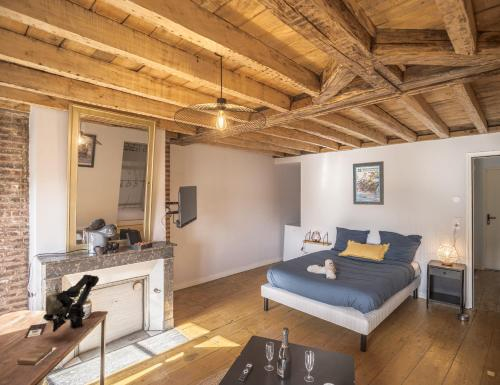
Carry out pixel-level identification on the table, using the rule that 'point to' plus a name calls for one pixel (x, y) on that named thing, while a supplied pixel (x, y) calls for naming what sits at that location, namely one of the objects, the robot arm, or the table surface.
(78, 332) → the table surface
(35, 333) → the chocolate bar
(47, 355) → the white mat
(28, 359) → the walnut tile
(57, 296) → the robot arm
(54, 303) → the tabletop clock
